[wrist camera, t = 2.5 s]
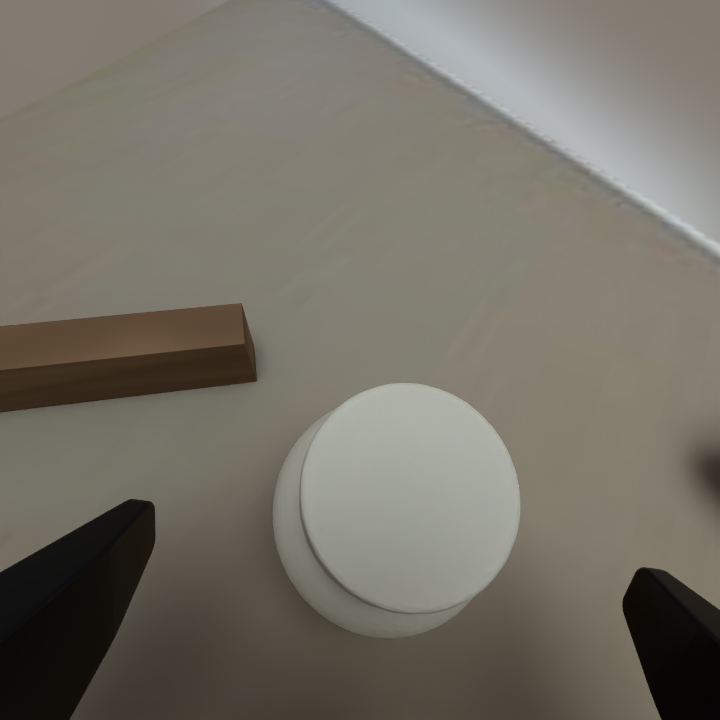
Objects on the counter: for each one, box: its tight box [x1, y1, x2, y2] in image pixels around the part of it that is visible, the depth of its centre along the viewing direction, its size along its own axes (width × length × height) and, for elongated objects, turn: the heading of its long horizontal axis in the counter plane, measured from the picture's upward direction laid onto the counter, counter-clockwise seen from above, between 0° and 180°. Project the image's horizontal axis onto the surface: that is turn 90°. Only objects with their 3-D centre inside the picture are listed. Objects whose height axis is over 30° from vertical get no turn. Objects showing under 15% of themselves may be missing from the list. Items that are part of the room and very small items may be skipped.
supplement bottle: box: [272, 383, 520, 638], centre depth 12 cm, size 5×5×10 cm
